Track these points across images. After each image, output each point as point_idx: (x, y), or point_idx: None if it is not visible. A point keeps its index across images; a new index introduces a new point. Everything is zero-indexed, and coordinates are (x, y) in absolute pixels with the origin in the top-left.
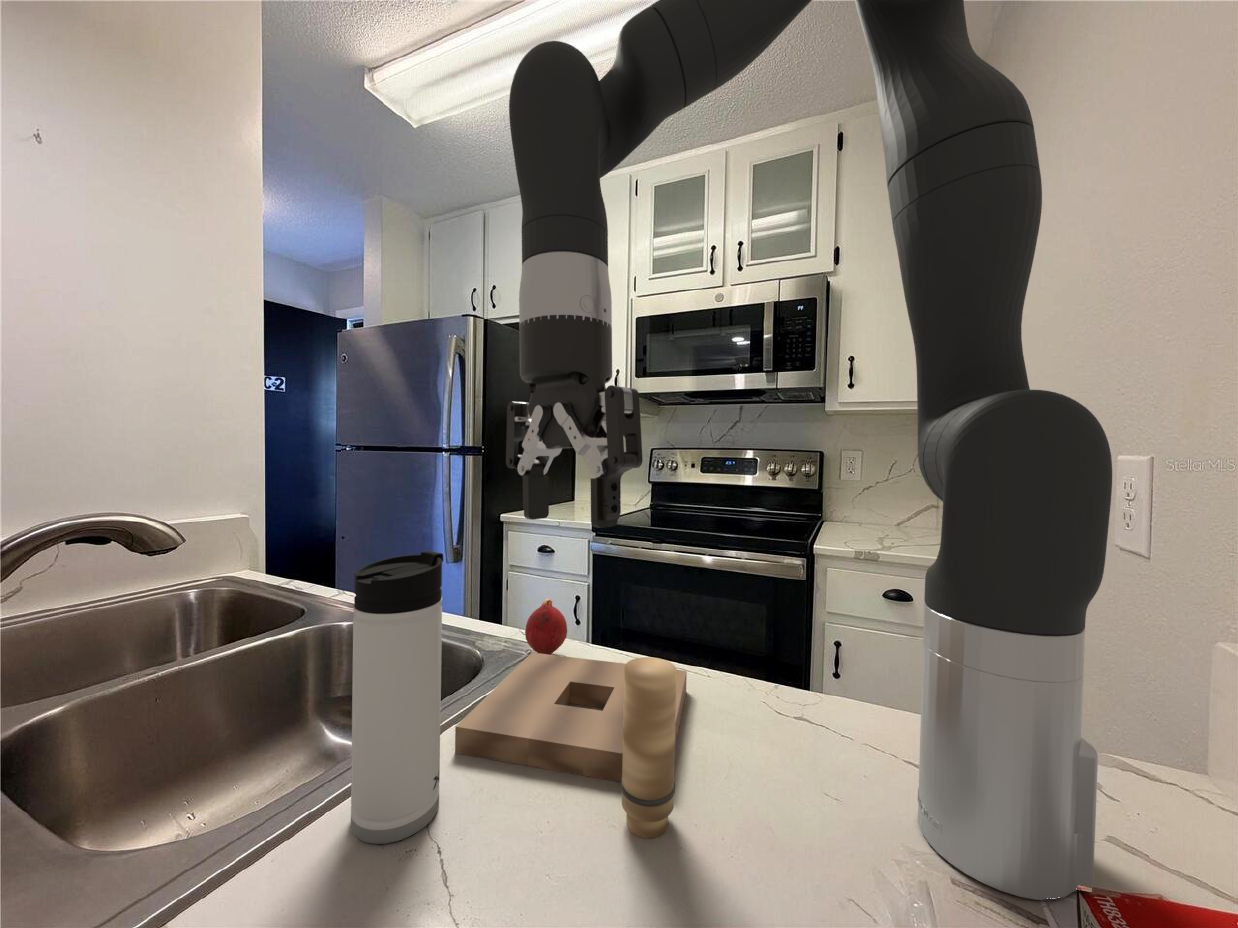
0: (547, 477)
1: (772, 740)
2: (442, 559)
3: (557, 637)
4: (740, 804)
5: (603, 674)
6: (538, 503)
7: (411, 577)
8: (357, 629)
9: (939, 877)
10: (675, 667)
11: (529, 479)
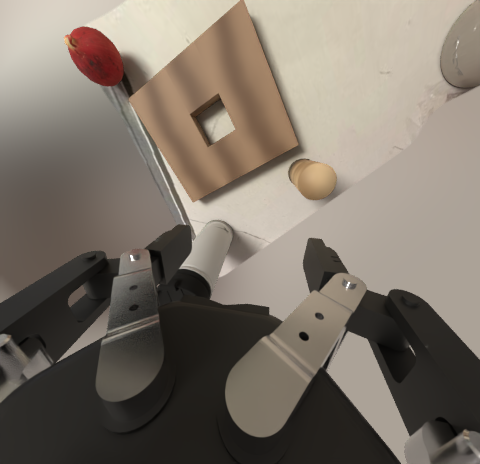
0: (161, 251)
1: (336, 32)
2: (176, 282)
3: (118, 62)
4: (334, 125)
5: (196, 81)
6: (183, 247)
7: None
8: None
9: (441, 99)
10: (332, 169)
11: (167, 279)
